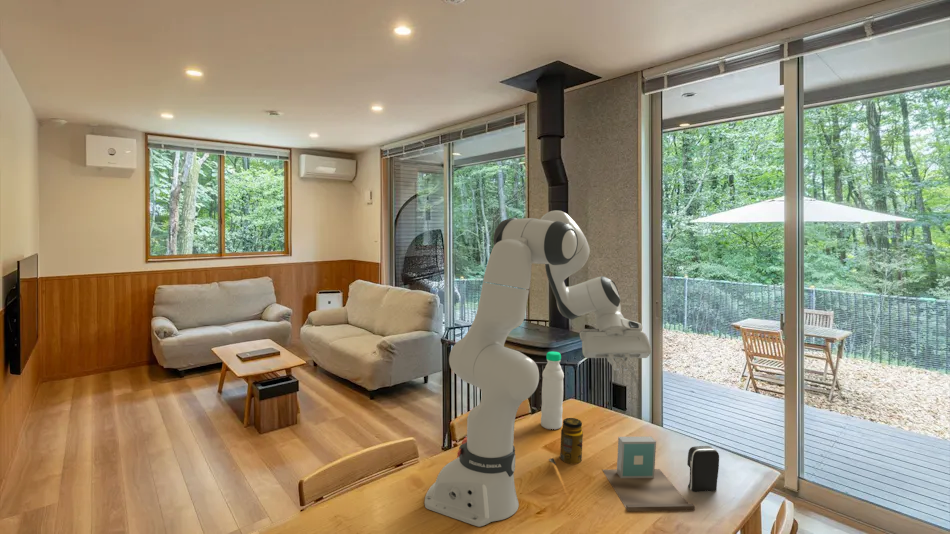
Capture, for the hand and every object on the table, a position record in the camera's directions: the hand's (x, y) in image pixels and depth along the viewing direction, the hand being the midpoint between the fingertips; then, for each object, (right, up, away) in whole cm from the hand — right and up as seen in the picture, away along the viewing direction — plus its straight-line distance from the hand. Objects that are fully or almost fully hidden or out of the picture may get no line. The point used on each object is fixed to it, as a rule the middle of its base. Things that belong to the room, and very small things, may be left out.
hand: (621, 369), depth 140 cm
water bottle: (-17, -23, +21) cm, 36 cm away
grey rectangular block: (0, -26, -12) cm, 28 cm away
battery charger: (+15, -28, -17) cm, 36 cm away
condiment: (-16, -26, -3) cm, 31 cm away
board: (0, -27, -17) cm, 32 cm away
